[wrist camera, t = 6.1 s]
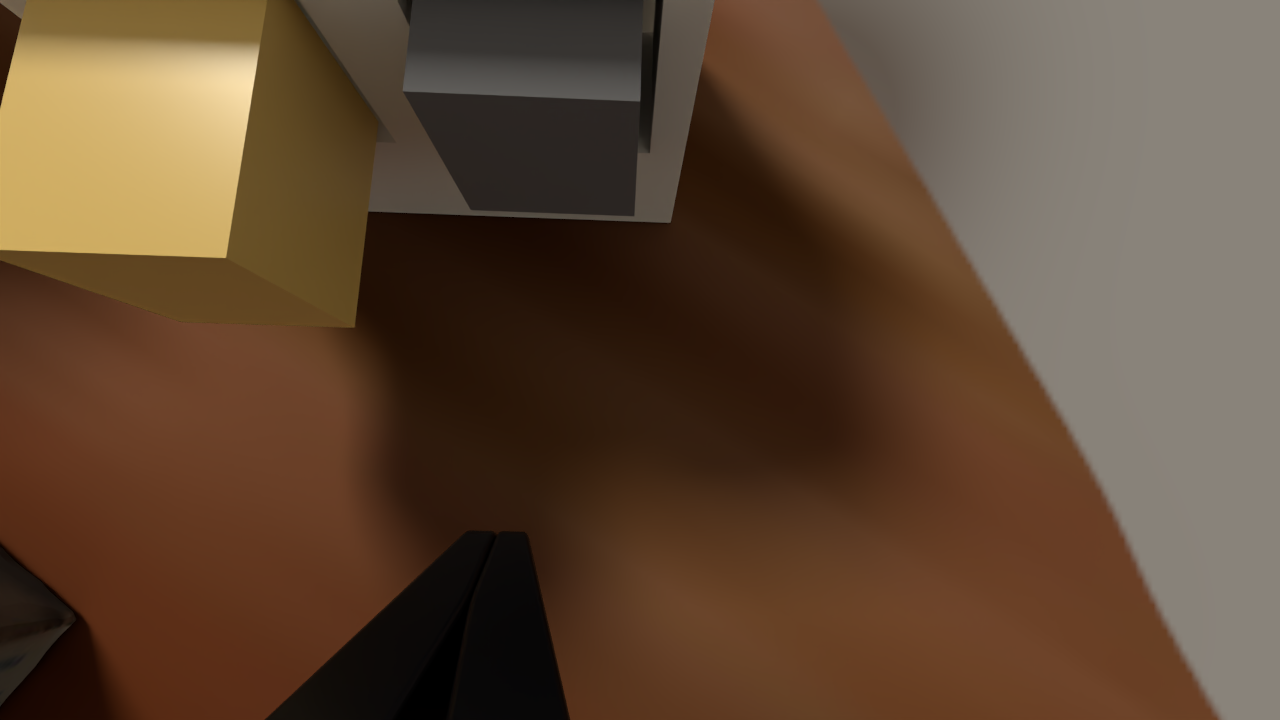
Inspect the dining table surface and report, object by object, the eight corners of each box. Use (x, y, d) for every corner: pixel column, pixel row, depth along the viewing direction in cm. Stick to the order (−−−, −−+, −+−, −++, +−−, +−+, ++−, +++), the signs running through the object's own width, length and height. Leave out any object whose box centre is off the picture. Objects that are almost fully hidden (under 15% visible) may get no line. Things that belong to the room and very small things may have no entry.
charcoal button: (634, 216, 13) (640, 101, 9) (471, 210, 13) (402, 90, 9) (640, 26, 14) (648, -157, 10) (486, 19, 13) (431, -168, 10)
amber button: (354, 327, 12) (225, 257, 8) (180, 322, 12) (-34, 248, 8) (378, 122, 13) (272, -32, 9) (216, 114, 13) (36, -43, 9)
